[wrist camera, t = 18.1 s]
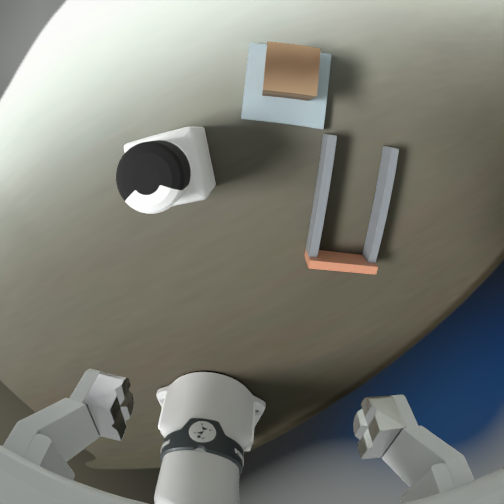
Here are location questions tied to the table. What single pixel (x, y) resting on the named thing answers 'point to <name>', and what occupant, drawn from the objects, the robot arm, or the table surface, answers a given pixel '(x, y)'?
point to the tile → (280, 107)
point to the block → (291, 71)
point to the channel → (377, 219)
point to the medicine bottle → (166, 170)
